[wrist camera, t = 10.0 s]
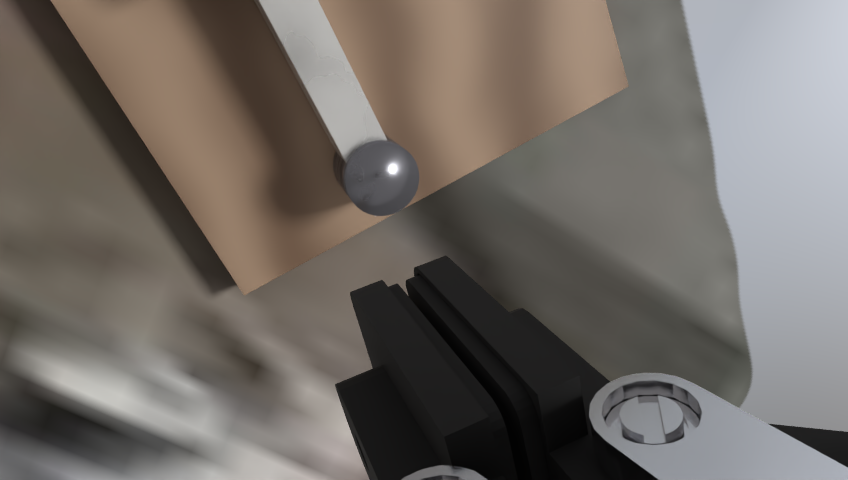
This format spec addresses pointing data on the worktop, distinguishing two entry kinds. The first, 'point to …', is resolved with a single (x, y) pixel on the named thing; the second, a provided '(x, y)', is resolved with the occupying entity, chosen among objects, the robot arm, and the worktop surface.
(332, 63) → the bar
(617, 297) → the worktop surface
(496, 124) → the lock board
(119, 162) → the worktop surface
